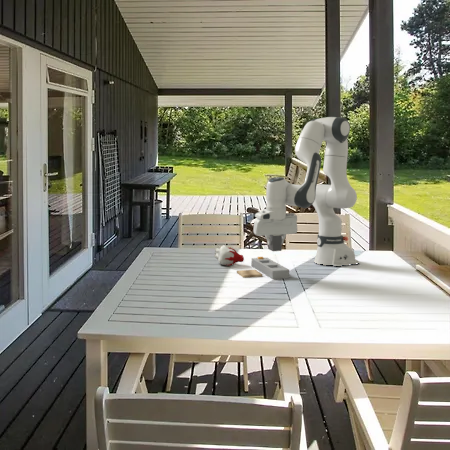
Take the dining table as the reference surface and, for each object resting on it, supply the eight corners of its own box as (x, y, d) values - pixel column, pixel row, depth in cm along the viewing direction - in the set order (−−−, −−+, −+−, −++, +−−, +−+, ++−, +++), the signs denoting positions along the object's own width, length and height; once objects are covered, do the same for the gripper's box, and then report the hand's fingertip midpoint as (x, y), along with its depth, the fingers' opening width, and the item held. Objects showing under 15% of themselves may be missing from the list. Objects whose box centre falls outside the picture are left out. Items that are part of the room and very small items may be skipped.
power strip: (262, 262, 270) (262, 253, 269) (289, 278, 240) (289, 268, 239) (247, 263, 267) (247, 254, 266) (272, 279, 237) (272, 269, 236)
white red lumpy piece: (213, 260, 269) (243, 265, 268) (210, 265, 258) (241, 270, 257) (216, 243, 268) (246, 247, 267) (213, 247, 257) (244, 252, 256)
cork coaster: (255, 271, 250) (255, 269, 250) (262, 276, 242) (262, 274, 241) (236, 272, 247) (236, 270, 247) (243, 277, 239) (243, 275, 239)
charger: (277, 248, 247) (278, 232, 246) (281, 250, 243) (281, 234, 242) (269, 249, 246) (269, 233, 245) (272, 251, 242) (273, 235, 241)
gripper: (294, 211, 248) (293, 241, 250) (252, 213, 242) (252, 244, 244) (300, 213, 242) (299, 244, 244) (257, 216, 236) (257, 247, 238)
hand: (275, 244), depth 244 cm, fingers closed on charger, 4 cm apart
